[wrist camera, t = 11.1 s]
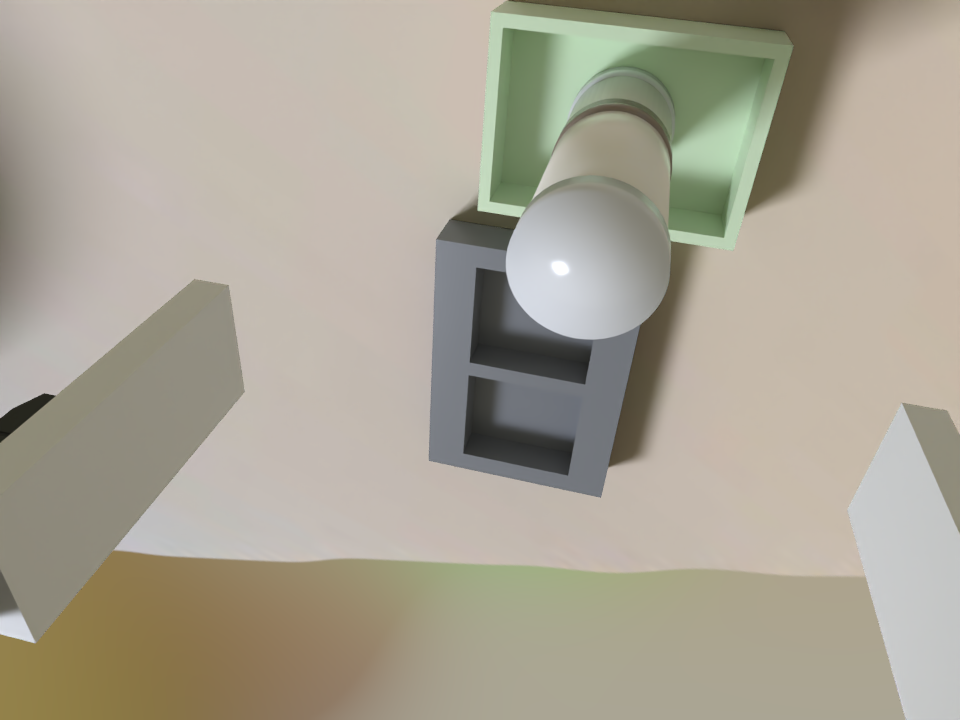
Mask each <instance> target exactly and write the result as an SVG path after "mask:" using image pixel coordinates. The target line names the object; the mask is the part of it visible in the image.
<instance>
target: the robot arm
mask: <svg viewBox="0 0 960 720" xmlns="http://www.w3.org/2000/svg"><path fill="white" fill-rule="evenodd" d="M244 392H245V391H244V384H243V377H242V371H241V364H240V357H239V351H238V344H237V337H236V331H235V324H234V318H233V311H232V304H231V298H230V291H229V285H224V284H218V283H213V282H207V281H201V280H196V279H194V280H193V281H192V282H191V283H190V284H188V285H187V286H186V287H185V288H184V289H182V290H181V291H180V292H179V293H178V294H176V295H175V296H174V297H173V298H172V299H171V300H169V301H168V302H167V303H166V304H165V305H163V306H162V307H161V308H160V309H159V310H157V311H156V312H155V313H154V314H153V315H152V316H150V317H149V318H148V319H147V320H146V321H144V322H143V323H142V324H141V325H140V326H138V327H137V328H136V329H135V330H134V331H133V332H131V333H130V334H129V335H128V336H127V337H125V338H124V339H123V340H122V341H121V342H119V343H118V344H117V345H116V346H115V347H114V348H112V349H111V350H110V351H109V352H108V353H106V354H105V355H104V356H103V357H102V358H100V359H99V360H98V361H97V362H96V363H95V364H93V365H92V366H91V367H90V368H89V369H87V370H86V371H85V372H84V373H83V374H81V375H80V376H79V377H78V378H77V379H76V380H74V381H73V382H72V383H71V384H70V385H68V386H67V387H66V388H65V389H64V390H62V391H61V392H60V393H59V394H58V395H57V396H54V395H49V394H45V393H44V394H42V395H40V396H38V397H36V398H34V399H32V400H30V401H28V402H26V403H23V404H21V405H19V406H17V407H15V408H13V409H12V410H10V411H9V412H8V413H7V414H5V415H4V416H3V417H2V418H0V634H2V635H6V636H10V637H14V638H18V639H21V640H25V641H29V642H33V643H36V642H37V641H38V640H39V639H40V638H41V636H42V635H43V634H44V633H45V632H46V630H47V629H48V628H49V627H50V625H51V624H52V623H53V622H54V621H55V619H56V618H57V617H58V616H59V615H60V614H61V612H62V611H63V610H64V609H65V608H66V606H67V605H68V604H69V603H70V601H71V600H72V599H73V598H74V597H75V595H76V594H77V593H78V592H79V591H80V589H81V588H82V587H83V586H84V585H85V583H86V582H87V581H88V580H89V579H90V577H91V576H92V575H93V574H94V573H95V571H96V570H97V569H98V568H99V567H100V565H101V564H102V563H103V562H104V561H105V559H106V558H107V557H108V556H109V555H110V553H111V552H112V551H113V550H114V549H115V547H116V546H117V545H118V544H119V542H120V541H121V540H122V539H123V538H124V536H125V535H126V534H127V533H128V532H129V530H130V529H131V528H132V527H133V526H134V524H135V523H136V522H137V521H138V520H139V518H140V517H141V516H142V515H143V514H144V512H145V511H146V510H147V509H148V508H149V506H150V505H151V504H152V503H153V502H154V500H155V499H156V498H157V497H158V495H159V494H160V493H161V492H162V491H163V489H164V488H165V487H166V486H167V485H168V483H169V482H170V481H171V480H172V479H173V477H174V476H175V475H176V474H177V473H178V471H179V470H180V469H181V468H182V467H183V465H184V464H185V463H186V462H187V461H188V459H189V458H190V457H191V456H192V455H193V453H194V452H195V451H196V450H197V448H198V447H199V446H200V445H201V444H202V442H203V441H204V440H205V439H206V438H207V436H208V435H209V434H210V433H211V432H212V430H213V429H214V428H215V427H216V426H217V424H218V423H219V422H220V421H221V420H222V418H223V417H224V416H225V415H226V414H227V412H228V411H229V410H230V409H231V408H232V406H233V405H234V404H235V403H236V402H237V400H238V399H239V398H240V397H241V395H242V394H243V393H244ZM847 511H848V515H849V518H850V522H851V525H852V529H853V533H854V536H855V540H856V543H857V547H858V550H859V554H860V558H861V561H862V565H863V568H864V572H865V575H866V579H867V583H868V586H869V590H870V593H871V597H872V601H873V604H874V608H875V611H876V615H877V618H878V622H879V625H880V629H881V633H882V636H883V640H884V643H885V647H886V650H887V654H888V658H889V661H890V665H891V669H892V672H893V676H894V679H895V682H896V686H897V690H898V694H899V697H900V701H901V704H902V708H903V712H904V715H905V718H906V720H960V435H959V433H958V431H957V429H956V427H955V425H954V423H953V421H952V419H951V417H950V415H949V414H948V412H947V411H946V410H940V409H934V408H929V407H923V406H917V405H911V404H906V403H901V405H900V407H899V409H898V411H897V413H896V415H895V417H894V419H893V421H892V423H891V425H890V427H889V429H888V431H887V433H886V435H885V437H884V439H883V441H882V443H881V445H880V447H879V449H878V451H877V453H876V454H875V456H874V458H873V460H872V462H871V464H870V466H869V468H868V470H867V472H866V474H865V476H864V478H863V480H862V482H861V484H860V486H859V488H858V490H857V492H856V494H855V496H854V498H853V500H852V502H851V504H850V506H849V508H848V510H847Z"/></svg>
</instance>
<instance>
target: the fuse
mask: <svg viewBox="0 0 960 720" xmlns="http://www.w3.org/2000/svg"><path fill="white" fill-rule="evenodd" d="M674 132H675V108H674V103H673V100H672V97H671V95H670V93H669V91H668V89H667V88H666V87H665V85H664V84H663V83H662V82H661V81H660V80H659V79H658V78H657V77H656V76H654V75H653V74H651V73H649V72H647V71H646V70H643V69H640V68H636V67H629V66H621V67H614V68H610V69H607V70H604V71H602V72H600V73H598V74H596V75H595V76H593V77H592V78H591V79H590V80H588V81H587V82H586V83H585V84H584V86H583V87H582V88H581V89H580V91H579V92H578V94H577V96H576V98H575V100H574V102H573V104H572V106H571V108H570V111H569V114H568V119H567V123H566V125H565V126H564V128H563V129H562V131H561V133H560V135H559V138H558V140H557V142H556V144H555V146H554V149H553V152H552V155H551V159H550V161H549V163H548V165H547V168H546V170H545V172H544V174H543V177H542V179H541V181H540V183H539V185H538V188H537V190H536V192H535V194H534V197H533V199H532V201H531V202H530V203H529V204H528V206H527V207H526V208H525V210H524V211H523V213H522V215H521V217H520V219H519V221H518V223H517V226H516V228H515V230H514V232H513V234H512V236H511V239H510V242H509V245H508V248H507V254H506V273H507V278H508V282H509V286H510V288H511V290H512V293H513V295H514V297H515V298H516V300H517V302H518V303H519V304H520V306H521V307H522V308H523V310H524V311H525V312H526V313H527V314H528V315H529V316H530V317H531V318H533V319H534V320H535V321H536V322H537V323H539V324H541V325H542V326H544V327H545V328H547V329H549V330H551V331H553V332H555V333H558V334H561V335H564V336H567V337H572V338H577V339H591V340H595V339H605V338H610V337H614V336H617V335H620V334H623V333H626V332H628V331H630V330H632V329H634V328H635V327H637V326H638V325H640V324H642V323H643V322H644V321H645V320H646V319H648V318H649V317H650V316H651V315H652V313H653V312H654V311H655V310H656V309H657V307H658V306H659V304H660V303H661V301H662V299H663V297H664V295H665V293H666V290H667V287H668V284H669V278H670V265H671V241H670V234H669V231H668V220H669V196H670V181H671V175H672V157H673V150H672V141H673V137H674Z"/></svg>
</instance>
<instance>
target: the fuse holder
mask: <svg viewBox="0 0 960 720" xmlns="http://www.w3.org/2000/svg"><path fill="white" fill-rule="evenodd" d="M513 232H514V230H512V229H506V228H499V227H493V226H487V225H481V224H475V223H468V222H462V221H456V220H449V222H448V223H447V224H446V226H445V227H444V229H443V230H442V232H441V233H440V235H439V236H438V238H437V239H436V262H435V291H434V321H433V350H432V380H431V409H430V439H429V461H433V462H438V463H442V464H447V465H452V466H456V467H461V468H466V469H470V470H475V471H479V472H484V473H489V474H493V475H498V476H503V477H507V478H512V479H517V480H521V481H526V482H531V483H535V484H540V485H545V486H549V487H554V488H559V489H563V490H568V491H573V492H577V493H582V494H587V495H591V496H596V497H600V498H601V495H602V491H603V486H604V482H605V478H606V473H607V469H608V465H609V460H610V456H611V451H612V447H613V443H614V438H615V434H616V429H617V425H618V421H619V416H620V412H621V408H622V403H623V399H624V394H625V390H626V386H627V381H628V377H629V372H630V368H631V364H632V359H633V355H634V351H635V346H636V342H637V337H638V333H639V329H640V325H638V326H637V327H635V328H634V329H632V330H630V331H628V332H626V333H623V334H620V335H617V336H614V337H610V338H605V339H595V340H591V339H577V338H572V337H567V336H564V335H561V334H558V333H555V332H553V331H551V330H549V329H547V328H545V327H544V326H542V325H541V324H539V323H537V322H536V321H535V320H534V319H533V318H531V317H530V316H529V315H528V314H527V313H526V312H525V311H524V310H523V308H522V307H521V306H520V304H519V303H518V302H517V300H516V298H515V297H514V295H513V293H512V290H511V288H510V286H509V282H508V278H507V273H506V254H507V248H508V245H509V242H510V239H511V236H512V234H513Z"/></svg>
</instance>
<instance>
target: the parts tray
mask: <svg viewBox="0 0 960 720" xmlns="http://www.w3.org/2000/svg"><path fill="white" fill-rule="evenodd" d="M793 47H794V46H793V44H792V43H791V41H790V39H789V38H788V36H787V35H786V33H785V32H784V31H777V30H768V29H759V28H750V27H741V26H732V25H723V24H714V23H705V22H696V21H687V20H678V19H669V18H660V17H651V16H642V15H633V14H624V13H615V12H606V11H597V10H587V9H578V8H569V7H560V6H551V5H542V4H533V3H524V2H515V1H506V2H504V3H503V4H501V5H500V6H498V7H497V8H496V9H494V10H493V11H491V19H490V34H489V48H488V63H487V78H486V93H485V107H484V122H483V137H482V151H481V166H480V181H479V196H478V210H477V211H483V212H490V213H496V214H502V215H509V216H515V217H521V215H522V213H523V211H524V210H525V208H526V207H527V206H528V204H529V203H530V202H531V201H532V199H533V197H534V194H535V192H536V190H537V188H538V185H539V183H540V181H541V179H542V177H543V174H544V172H545V170H546V168H547V165H548V163H549V161H550V159H551V155H552V152H553V149H554V146H555V144H556V142H557V140H558V138H559V135H560V133H561V131H562V129H563V128H564V126H565V125H566V123H567V119H568V114H569V111H570V108H571V106H572V104H573V102H574V100H575V98H576V96H577V94H578V92H579V91H580V89H581V88H582V87H583V86H584V84H585V83H586V82H587V81H588V80H590V79H591V78H592V77H593V76H595V75H596V74H598V73H600V72H602V71H604V70H607V69H610V68H614V67H621V66H629V67H636V68H640V69H643V70H646V71H647V72H649V73H651V74H653V75H654V76H656V77H657V78H658V79H659V80H660V81H661V82H662V83H663V84H664V85H665V87H666V88H667V89H668V91H669V93H670V95H671V97H672V100H673V103H674V108H675V132H674V137H673V141H672V150H673V157H672V175H671V181H670V196H669V220H668V231H669V234H670V241H674V242H680V243H686V244H693V245H699V246H705V247H712V248H718V249H725V250H731V251H733V250H734V247H735V244H736V240H737V237H738V233H739V230H740V227H741V223H742V220H743V216H744V213H745V210H746V206H747V203H748V199H749V196H750V193H751V189H752V186H753V182H754V179H755V176H756V172H757V169H758V165H759V162H760V159H761V155H762V152H763V149H764V145H765V142H766V138H767V135H768V132H769V128H770V125H771V121H772V118H773V115H774V111H775V108H776V104H777V101H778V98H779V94H780V91H781V87H782V84H783V81H784V77H785V74H786V71H787V67H788V64H789V60H790V57H791V54H792V50H793Z"/></svg>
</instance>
